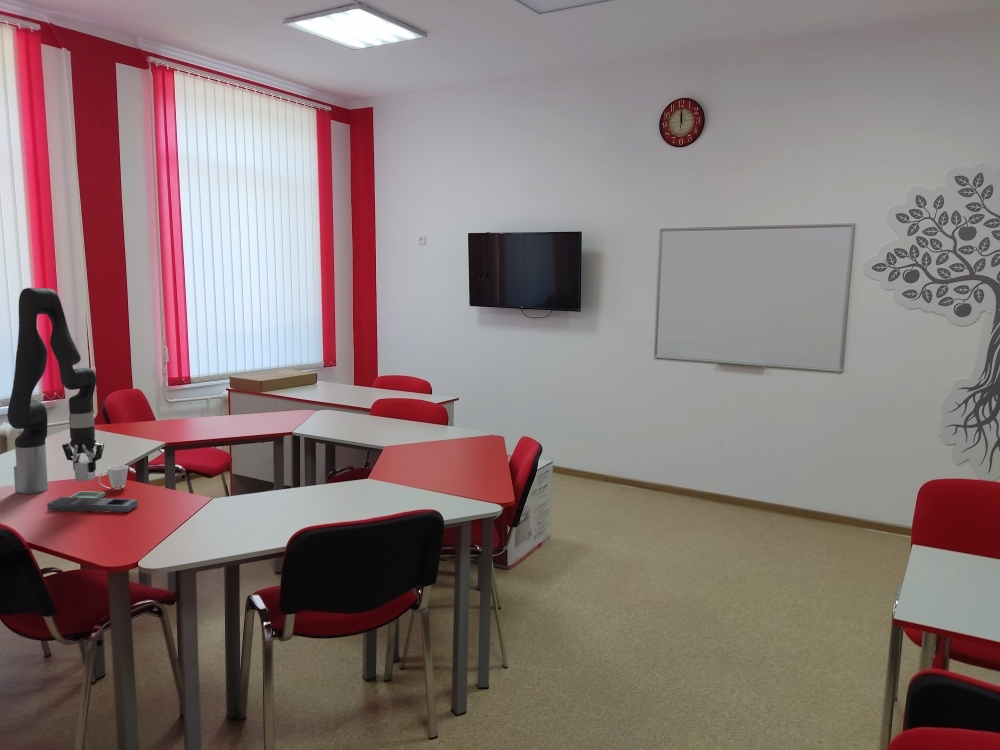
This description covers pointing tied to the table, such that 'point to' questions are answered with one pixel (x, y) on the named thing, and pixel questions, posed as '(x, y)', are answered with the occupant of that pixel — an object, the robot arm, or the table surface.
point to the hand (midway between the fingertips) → (85, 471)
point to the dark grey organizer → (92, 504)
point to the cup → (116, 476)
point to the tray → (89, 494)
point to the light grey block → (83, 471)
